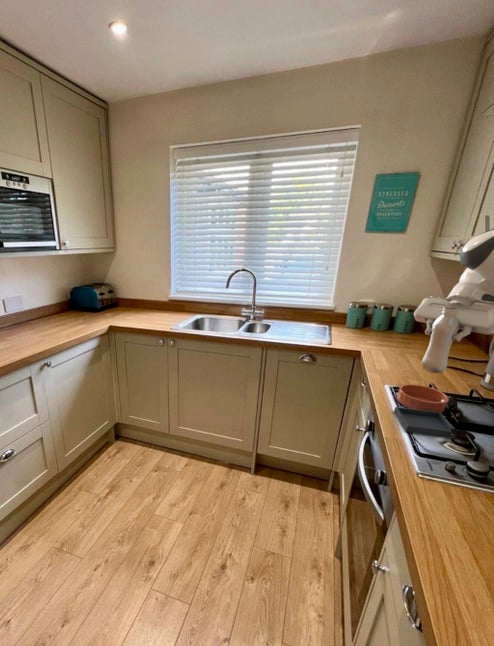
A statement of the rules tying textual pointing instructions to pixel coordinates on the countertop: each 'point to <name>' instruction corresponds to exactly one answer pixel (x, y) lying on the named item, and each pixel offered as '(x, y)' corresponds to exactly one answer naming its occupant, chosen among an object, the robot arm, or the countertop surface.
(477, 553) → the countertop surface
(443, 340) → the plastic bottle
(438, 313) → the robot arm
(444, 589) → the countertop surface
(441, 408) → the bowl
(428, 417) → the tray
